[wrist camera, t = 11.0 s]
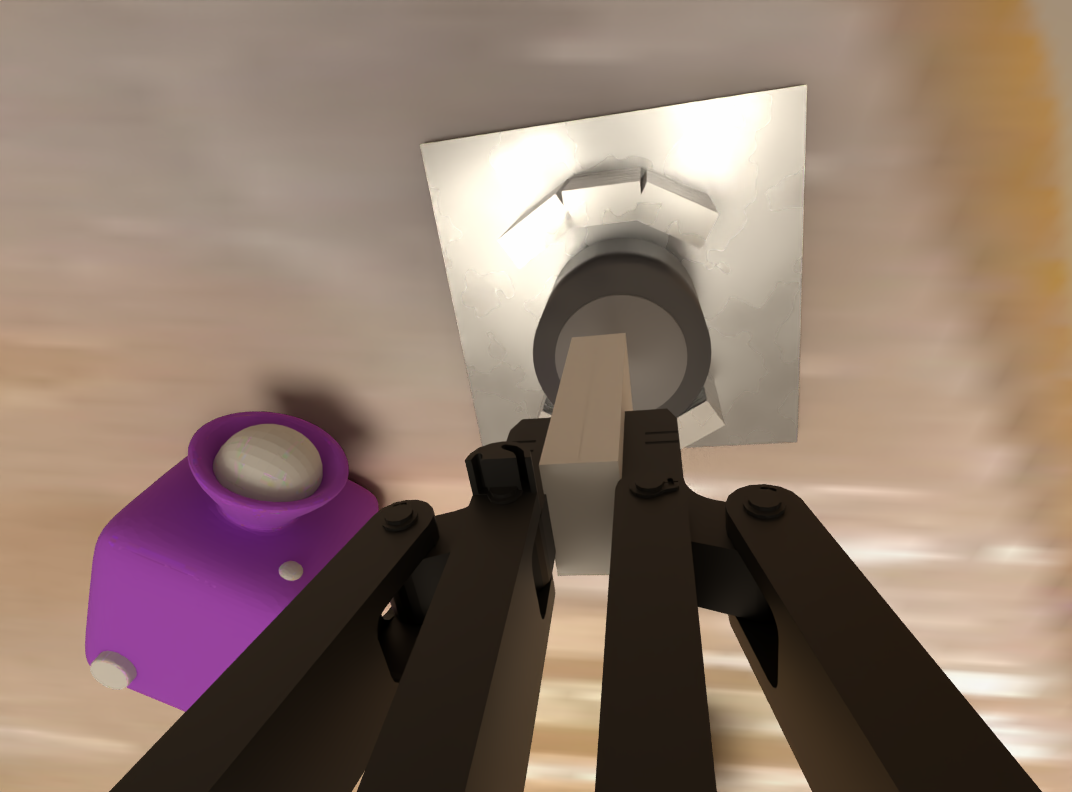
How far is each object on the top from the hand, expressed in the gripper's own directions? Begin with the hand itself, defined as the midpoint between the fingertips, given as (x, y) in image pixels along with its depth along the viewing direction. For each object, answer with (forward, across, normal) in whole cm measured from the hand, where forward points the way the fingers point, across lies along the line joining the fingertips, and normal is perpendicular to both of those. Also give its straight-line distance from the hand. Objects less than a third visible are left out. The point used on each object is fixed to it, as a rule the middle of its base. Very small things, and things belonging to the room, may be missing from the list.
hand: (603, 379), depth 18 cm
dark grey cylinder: (+9, 0, -1) cm, 9 cm away
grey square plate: (+9, 0, -1) cm, 9 cm away
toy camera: (+10, -18, -10) cm, 22 cm away
